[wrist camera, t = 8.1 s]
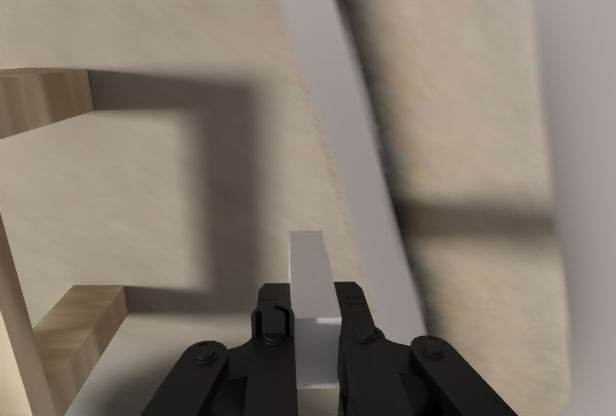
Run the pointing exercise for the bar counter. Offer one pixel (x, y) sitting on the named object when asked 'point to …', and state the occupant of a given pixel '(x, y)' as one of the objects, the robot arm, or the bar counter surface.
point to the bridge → (77, 301)
